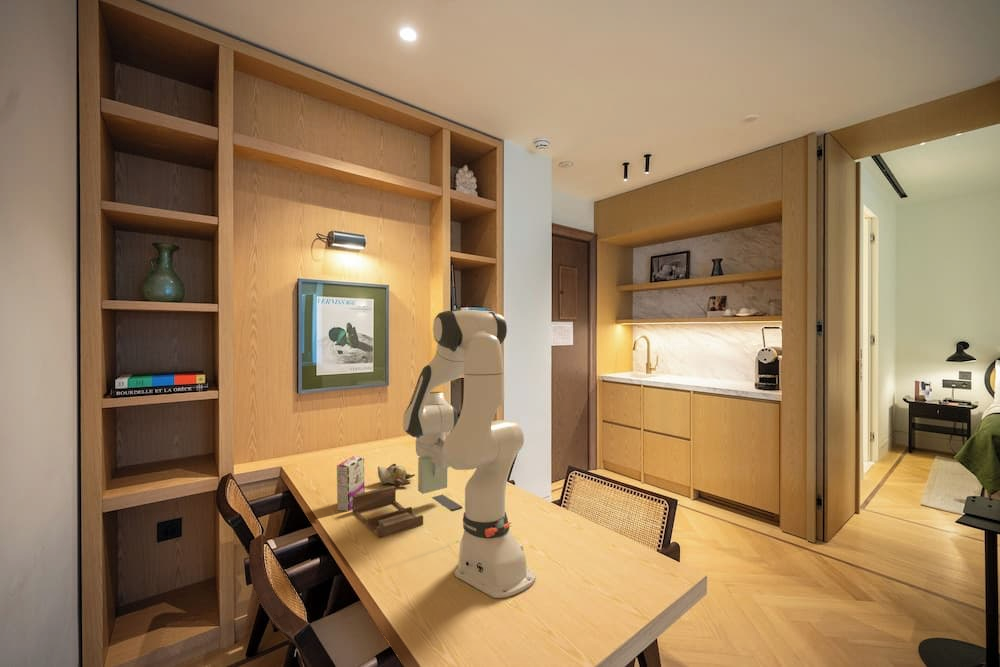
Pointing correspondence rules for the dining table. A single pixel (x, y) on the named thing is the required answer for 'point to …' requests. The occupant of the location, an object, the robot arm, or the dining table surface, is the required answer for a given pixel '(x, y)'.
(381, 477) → the ceramic sculpture
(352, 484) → the candy bar box
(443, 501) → the rubber mat
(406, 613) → the dining table surface
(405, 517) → the upper offcut
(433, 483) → the beige rectangular block
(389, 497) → the frame
